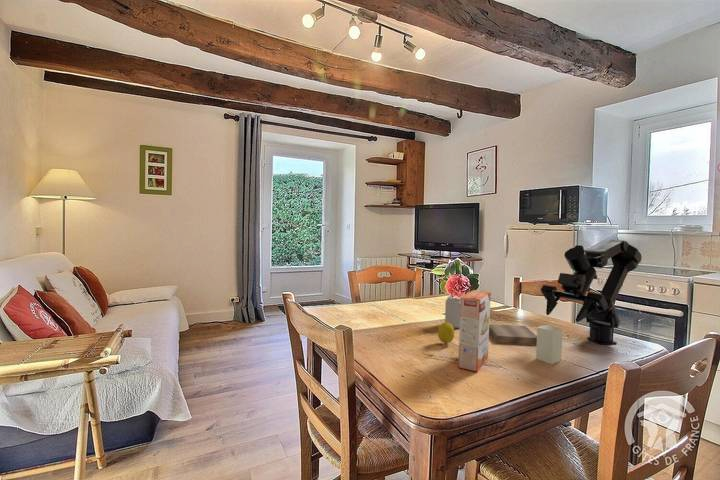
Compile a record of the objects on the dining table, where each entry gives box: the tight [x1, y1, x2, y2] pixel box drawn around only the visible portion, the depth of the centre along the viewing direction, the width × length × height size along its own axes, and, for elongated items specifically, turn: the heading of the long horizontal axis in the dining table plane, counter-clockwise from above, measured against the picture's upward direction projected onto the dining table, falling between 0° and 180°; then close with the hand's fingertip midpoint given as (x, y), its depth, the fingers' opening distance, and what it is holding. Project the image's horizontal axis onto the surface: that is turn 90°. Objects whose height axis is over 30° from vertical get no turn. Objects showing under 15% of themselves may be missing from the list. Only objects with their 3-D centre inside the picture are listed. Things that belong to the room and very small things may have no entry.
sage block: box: [535, 324, 563, 365], centre depth 108 cm, size 5×5×10 cm
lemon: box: [437, 321, 455, 345], centre depth 121 cm, size 6×6×8 cm
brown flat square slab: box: [489, 323, 537, 346], centre depth 129 cm, size 14×14×3 cm
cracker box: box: [457, 289, 492, 373], centre depth 105 cm, size 14×6×21 cm, turn 148°
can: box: [444, 295, 461, 329], centre depth 142 cm, size 8×8×12 cm
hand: (561, 317), depth 111 cm, fingers open, 9 cm apart
